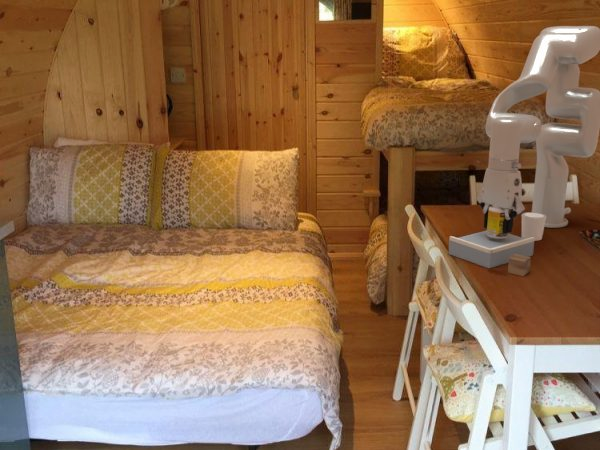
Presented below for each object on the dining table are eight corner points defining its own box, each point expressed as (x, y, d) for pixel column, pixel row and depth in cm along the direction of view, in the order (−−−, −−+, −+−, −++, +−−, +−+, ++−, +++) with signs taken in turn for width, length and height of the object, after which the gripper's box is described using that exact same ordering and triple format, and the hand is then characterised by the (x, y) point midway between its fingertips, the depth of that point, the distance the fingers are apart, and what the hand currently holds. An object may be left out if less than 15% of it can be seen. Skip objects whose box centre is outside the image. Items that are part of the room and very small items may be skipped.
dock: (491, 242, 186) (493, 225, 185) (532, 255, 175) (534, 237, 174) (448, 253, 177) (449, 236, 175) (489, 268, 166) (490, 250, 164)
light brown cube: (513, 268, 166) (515, 253, 165) (529, 272, 163) (530, 257, 162) (507, 273, 163) (509, 258, 162) (523, 276, 160) (524, 261, 159)
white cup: (515, 237, 190) (517, 215, 188) (525, 232, 195) (527, 210, 193) (538, 242, 186) (540, 219, 184) (547, 237, 190) (550, 214, 188)
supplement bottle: (498, 240, 172) (501, 203, 169) (482, 235, 176) (484, 199, 174) (512, 237, 175) (515, 200, 172) (495, 232, 179) (498, 196, 176)
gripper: (539, 168, 165) (533, 235, 170) (486, 158, 179) (482, 220, 184) (521, 171, 161) (514, 240, 166) (468, 161, 175) (464, 224, 180)
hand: (497, 229), depth 175 cm, fingers closed on supplement bottle, 5 cm apart
